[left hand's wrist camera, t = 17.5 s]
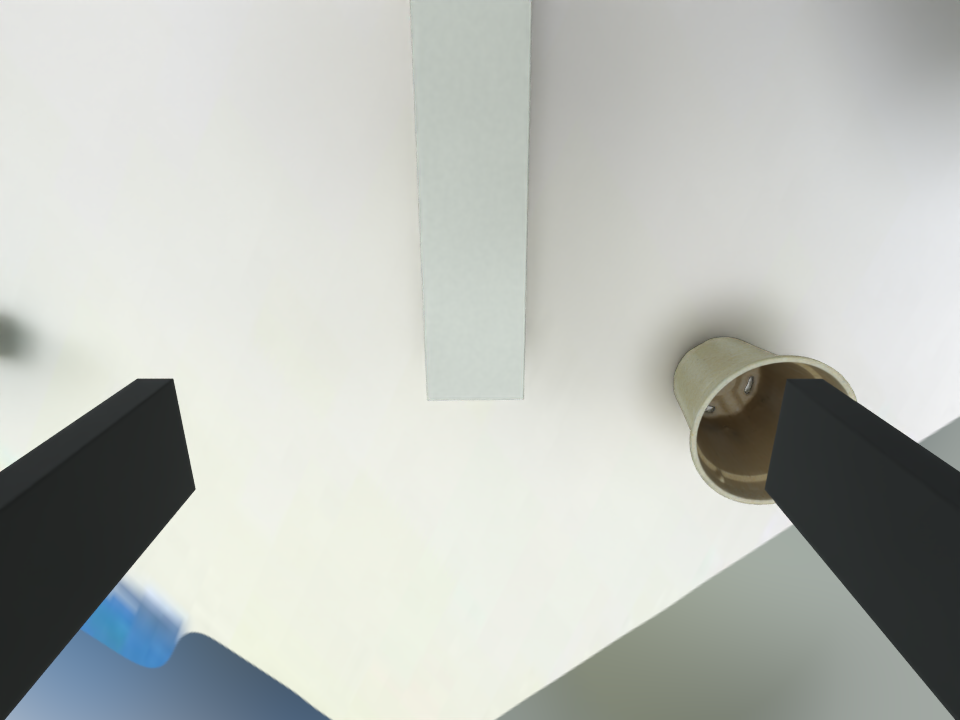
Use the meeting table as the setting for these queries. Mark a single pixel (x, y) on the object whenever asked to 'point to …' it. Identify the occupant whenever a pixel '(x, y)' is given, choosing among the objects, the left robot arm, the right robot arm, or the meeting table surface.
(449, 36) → the bar
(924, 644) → the left robot arm
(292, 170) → the meeting table surface
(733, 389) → the flower pot
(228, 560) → the meeting table surface
